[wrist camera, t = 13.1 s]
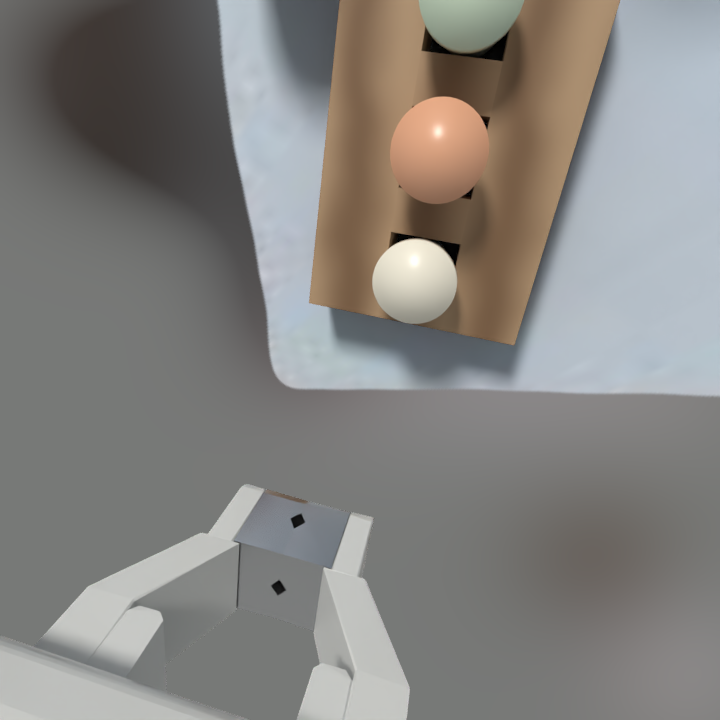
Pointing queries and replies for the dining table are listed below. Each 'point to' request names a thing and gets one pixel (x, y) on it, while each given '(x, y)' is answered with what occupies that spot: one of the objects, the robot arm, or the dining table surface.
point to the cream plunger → (415, 280)
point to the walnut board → (503, 169)
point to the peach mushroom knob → (439, 150)
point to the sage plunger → (469, 23)
